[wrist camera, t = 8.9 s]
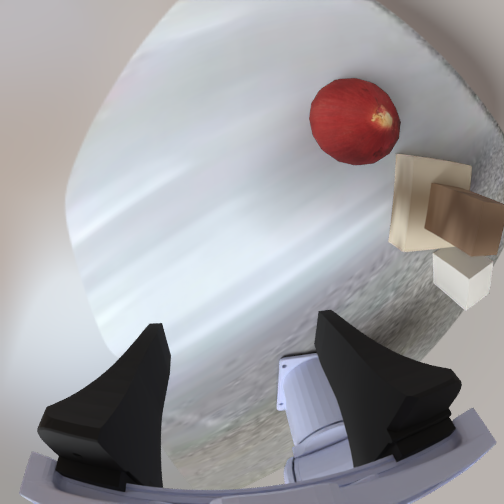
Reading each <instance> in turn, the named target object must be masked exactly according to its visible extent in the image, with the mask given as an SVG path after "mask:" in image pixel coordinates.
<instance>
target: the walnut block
mask: <svg viewBox="0 0 504 504" xmlns="http://www.w3.org/2000/svg"><path fill="white" fill-rule="evenodd" d="M503 227H504V204H502V203H500V202H497V201H495V200H492V199H490V198H487V197H485V196H482V195H479V194H477V193H474V192H471V191H469V190H466V189H463V188H460V187H455V186H450V185H444V184H438V183H432V182H431V189H430V196H429V203H428V209H427V215H426V221H425V226H424V229H426V230H428V231H430V232H431V233H433V234H435V235H437V236H438V237H440V238H442V239H443V240H445V241H447V242H448V243H450V244H452V245H453V246H455V247H457V248H458V249H460V250H461V251H463V252H465V253H466V254H468V255H469V256H471V257H473V256H486V255H497V251H498V248H499V244H500V240H501V236H502V232H503Z"/></svg>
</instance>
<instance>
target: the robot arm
mask: <svg viewBox="0 0 504 504" xmlns="http://www.w3.org/2000/svg"><path fill="white" fill-rule="evenodd" d="M314 344H315V348H316V351H317V353H313V354H306V355H299V356H292V357H284V358H282V359H280V361H279V378H278V395H277V410H286V414H287V418H288V422H289V426H290V430H291V434H292V438H293V442H294V445H295V446H294V447H292V450H293V454H294V457H291V458H289V459H288V460H287V463H286V465H285V468H284V480H285V484H281V485H274V486H266V487H257V488H247V489H230V490H184V489H169V488H163V483H162V472H161V421H162V413H163V407H164V401H165V396H166V391H167V386H168V380H169V375H170V362H171V354H170V351H169V347H168V344H167V340H166V336H165V333H164V329H163V325H162V323H155V324H149V325H148V326H147V327H146V328H145V330H144V331H143V332H142V333H141V334H140V336H139V337H138V338H137V339H136V340H135V342H134V343H133V344H132V345H131V346H130V347H129V349H128V350H127V351H126V352H125V353H124V354H123V355H122V356H121V357H120V358H119V359H118V360H117V361H116V363H115V364H114V365H113V366H111V367H110V368H109V369H108V370H107V371H106V372H105V373H103V374H102V375H101V376H100V377H99V378H97V379H96V380H95V381H93V382H92V383H90V384H89V385H88V386H86V387H85V388H83V389H82V390H80V391H79V392H77V393H75V394H73V395H71V396H70V397H68V398H66V399H64V400H62V401H59V402H57V403H55V404H53V405H50V406H48V407H47V408H46V410H45V412H44V414H43V417H42V419H41V422H40V424H39V426H38V430H37V432H38V434H39V436H40V438H41V439H42V440H43V441H44V442H45V443H46V444H47V445H48V446H49V447H50V448H51V449H52V450H53V451H54V452H55V453H56V454H58V456H59V458H58V461H56V460H54V459H52V458H50V457H47V456H44V455H42V454H39V453H36V452H34V451H32V452H31V455H30V458H29V461H28V464H27V467H26V470H25V474H24V477H23V481H22V484H21V488H20V492H19V494H20V495H21V496H23V497H24V498H26V499H27V500H29V501H31V502H32V503H34V504H411V503H413V502H415V501H417V500H419V499H421V498H423V497H424V496H426V495H428V494H430V493H431V492H433V491H435V490H436V489H438V488H440V487H441V486H443V485H445V484H446V483H448V482H449V481H451V480H452V479H454V478H455V477H457V476H458V475H460V474H461V473H463V472H464V471H466V470H467V469H469V468H470V467H471V466H472V465H473V464H475V463H476V462H477V461H478V460H479V459H480V458H481V457H482V456H484V455H485V454H486V453H487V452H488V451H489V450H490V449H491V448H492V447H493V446H494V445H495V444H496V441H495V439H494V437H493V436H492V435H491V433H490V431H489V430H488V429H487V427H486V426H485V424H484V422H483V421H482V420H481V418H480V417H479V415H478V414H477V412H476V411H475V410H474V408H471V409H470V410H468V411H466V412H465V413H463V414H461V415H460V416H458V417H456V418H455V419H454V420H453V421H451V419H450V418H449V417H450V416H451V411H450V410H449V407H450V405H451V404H452V402H453V401H454V399H455V398H456V397H457V395H458V393H459V391H460V389H461V386H462V384H461V381H460V380H459V378H458V377H457V376H456V374H455V373H454V372H453V371H452V370H451V369H448V368H442V367H437V366H432V365H429V364H425V363H421V362H418V361H416V360H413V359H410V358H407V357H405V356H402V355H400V354H398V353H396V352H394V351H392V350H390V349H388V348H386V347H384V346H382V345H380V344H379V343H377V342H375V341H374V340H372V339H371V338H369V337H367V336H366V335H364V334H363V333H362V332H360V331H359V330H357V329H356V328H355V327H353V326H352V325H351V324H349V323H348V322H347V321H345V320H344V319H343V318H341V317H340V316H339V315H337V314H336V313H335V312H333V311H332V310H325V311H319V313H318V321H317V329H316V336H315V343H314Z"/></svg>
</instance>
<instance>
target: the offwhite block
mask: <svg viewBox="0 0 504 504" xmlns="http://www.w3.org/2000/svg"><path fill="white" fill-rule="evenodd" d="M492 269H493V261H492V260H490V259H489V258H487V257H485V256H473V257H471V256H469V255H468V254H466V253H465V252H463V251H461V250H460V249H458V248H457V247H448V248H441V249H439V250H438V251H436V252H434V253H433V280H434V284H435V285H436V286H437V287H439V288H440V289H441V290H442V291H443V292H444V293H446V294H447V295H448V296H449V297H450V298H451V299H453V300H454V301H455V302H456V303H457V304H458V305H459V306H460V307H462V308H463V309H464V310H465V311H467V310H468V309H469V308H471V307H472V306H473V305H475V304H476V303H477V302H479V301H480V300H481V299H483V298H484V297H485V296H486V295H488V294H489V291H490V285H491V277H492Z"/></svg>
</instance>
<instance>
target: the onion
mask: <svg viewBox="0 0 504 504" xmlns="http://www.w3.org/2000/svg"><path fill="white" fill-rule="evenodd" d="M309 120H310V125H311V129H312V134H313V136H314V138H315V139H316V141H317V143H318V144H319V146H320V147H321V149H322V150H323V151H324V152H326V153H327V154H329V155H330V156H332V157H333V158H334V159H336V160H337V161H339V162H343V163H347V164H352V165H364V164H372V163H375V162H377V161H378V160H380V159H382V158H383V157H385V156H386V155H388V154H390V152H391V151H392V149H393V147H394V145H395V144H396V142H397V140H398V139H399V132H400V123H401V122H400V119H399V116H398V113H397V110H396V108H395V106H394V104H393V102H392V101H391V99H390V97H389V96H388V94H387V93H385V92H384V91H383V90H382V89H381V88H379V87H378V86H377V85H375V84H374V83H371V82H367V81H364V80H361V79H356V78H350V79H338V80H334V81H333V82H331V83H330V84H328V85H326V86H325V87H323V88H322V89H321V90H320V91H319V92H318V93H317V95H316V97H315V98H314V100H313V102H312V103H311V110H310V117H309Z"/></svg>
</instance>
